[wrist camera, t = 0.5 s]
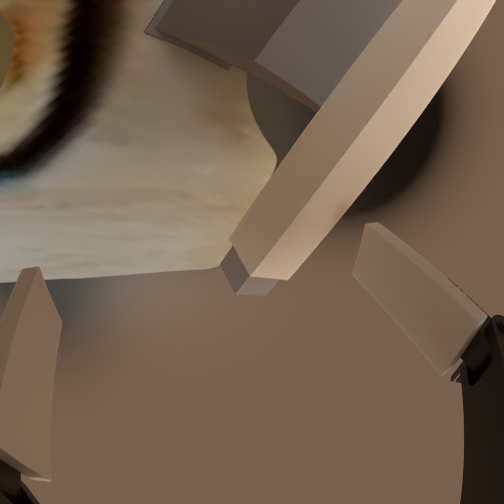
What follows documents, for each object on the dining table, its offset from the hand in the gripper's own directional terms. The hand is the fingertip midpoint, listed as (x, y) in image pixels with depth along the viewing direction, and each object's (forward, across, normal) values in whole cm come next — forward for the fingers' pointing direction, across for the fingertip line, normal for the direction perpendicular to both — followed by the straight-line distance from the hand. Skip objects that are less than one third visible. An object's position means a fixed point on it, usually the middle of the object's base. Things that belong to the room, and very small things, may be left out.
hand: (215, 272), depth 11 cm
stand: (+35, +6, +18) cm, 40 cm away
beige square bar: (+4, +9, +9) cm, 13 cm away
